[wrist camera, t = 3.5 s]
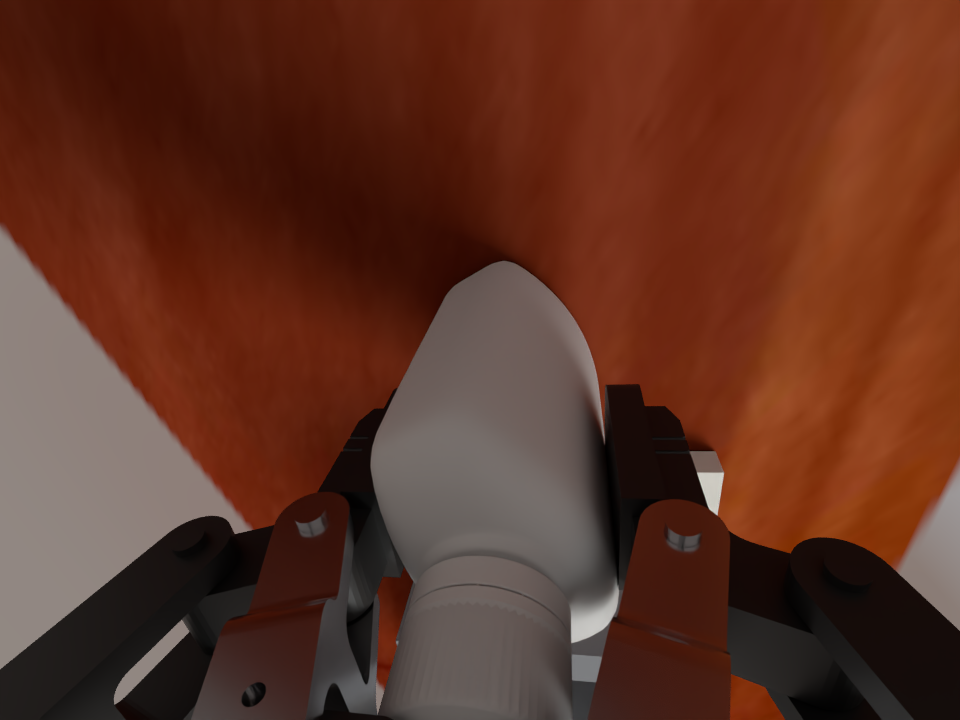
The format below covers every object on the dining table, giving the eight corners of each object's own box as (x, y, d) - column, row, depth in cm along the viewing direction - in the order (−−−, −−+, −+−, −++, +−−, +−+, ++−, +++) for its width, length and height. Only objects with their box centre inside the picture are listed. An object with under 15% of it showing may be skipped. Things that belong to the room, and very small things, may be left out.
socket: (399, 449, 18) (340, 584, 13) (715, 451, 16) (778, 609, 11) (455, 687, 25) (430, 829, 20) (678, 707, 23) (708, 870, 19)
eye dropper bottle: (462, 419, 17) (306, 964, 7) (444, 256, 14) (130, 747, 4) (596, 423, 16) (656, 1037, 6) (604, 252, 14) (742, 834, 3)
